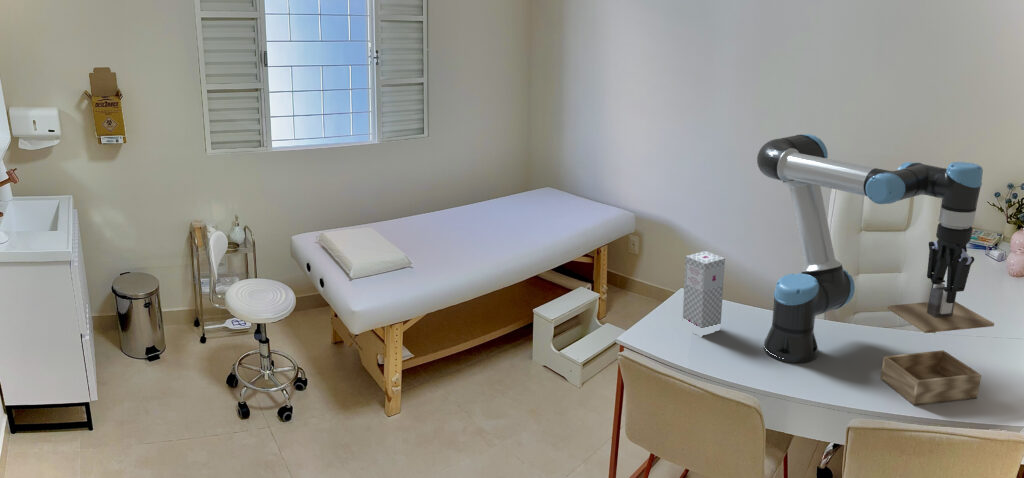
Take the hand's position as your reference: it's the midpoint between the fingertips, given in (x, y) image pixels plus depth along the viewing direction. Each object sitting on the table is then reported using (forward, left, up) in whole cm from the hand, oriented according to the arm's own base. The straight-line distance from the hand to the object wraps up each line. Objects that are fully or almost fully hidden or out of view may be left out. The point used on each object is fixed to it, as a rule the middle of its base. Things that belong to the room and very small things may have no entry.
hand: (940, 309), depth 186 cm
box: (-45, +47, -24) cm, 69 cm away
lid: (0, 0, -2) cm, 2 cm away
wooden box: (0, 0, -23) cm, 23 cm away
